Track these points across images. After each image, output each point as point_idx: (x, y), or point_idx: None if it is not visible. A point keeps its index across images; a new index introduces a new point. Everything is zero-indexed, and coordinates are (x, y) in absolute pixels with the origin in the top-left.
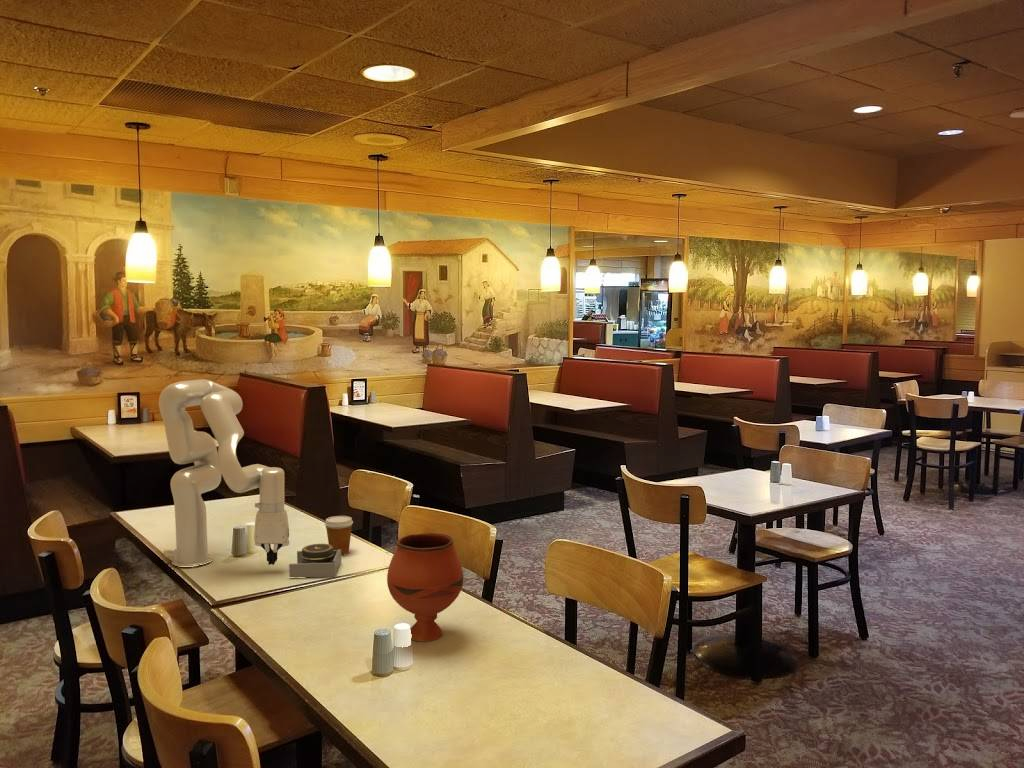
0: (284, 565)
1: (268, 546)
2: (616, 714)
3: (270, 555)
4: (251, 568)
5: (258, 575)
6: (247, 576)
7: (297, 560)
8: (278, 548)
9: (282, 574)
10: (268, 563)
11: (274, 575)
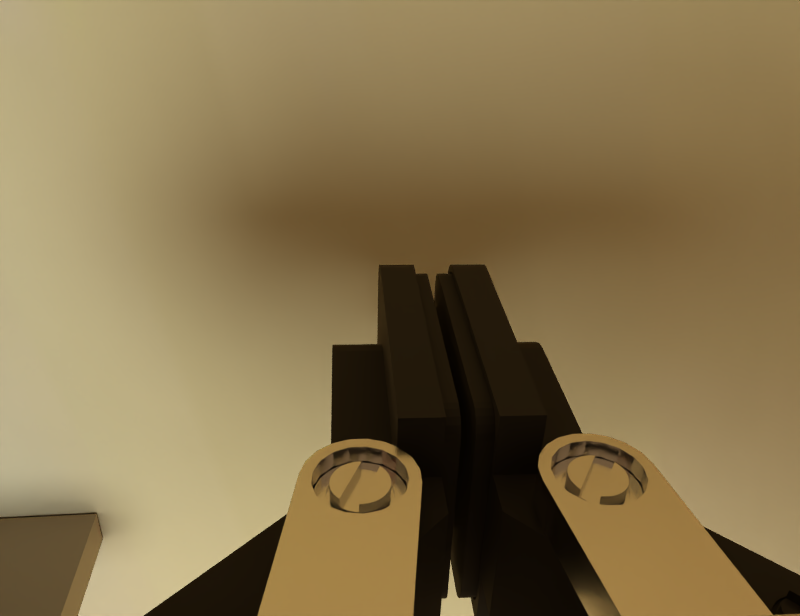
0: (285, 508)
1: (605, 586)
2: None
3: (473, 378)
4: (718, 414)
5: (611, 100)
6: (791, 63)
7: (72, 569)
8: (253, 565)
9: (190, 118)
10: (485, 272)
11: (326, 73)
